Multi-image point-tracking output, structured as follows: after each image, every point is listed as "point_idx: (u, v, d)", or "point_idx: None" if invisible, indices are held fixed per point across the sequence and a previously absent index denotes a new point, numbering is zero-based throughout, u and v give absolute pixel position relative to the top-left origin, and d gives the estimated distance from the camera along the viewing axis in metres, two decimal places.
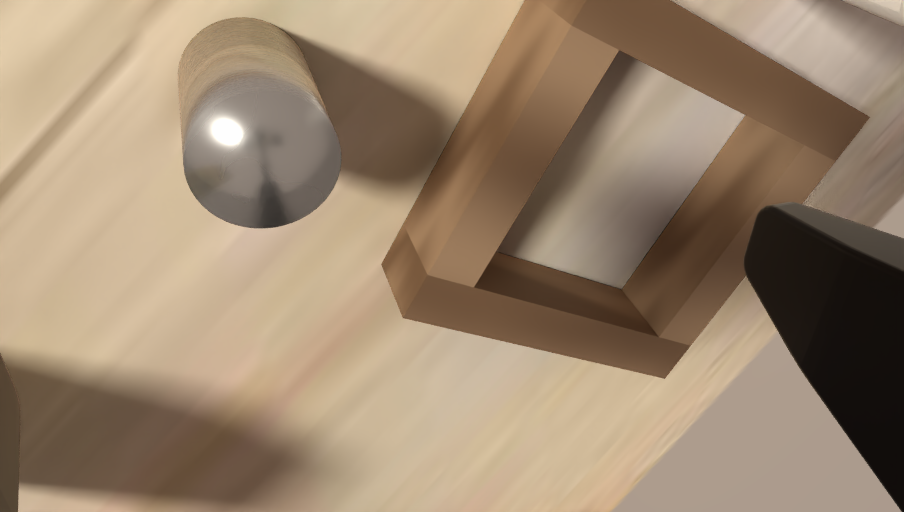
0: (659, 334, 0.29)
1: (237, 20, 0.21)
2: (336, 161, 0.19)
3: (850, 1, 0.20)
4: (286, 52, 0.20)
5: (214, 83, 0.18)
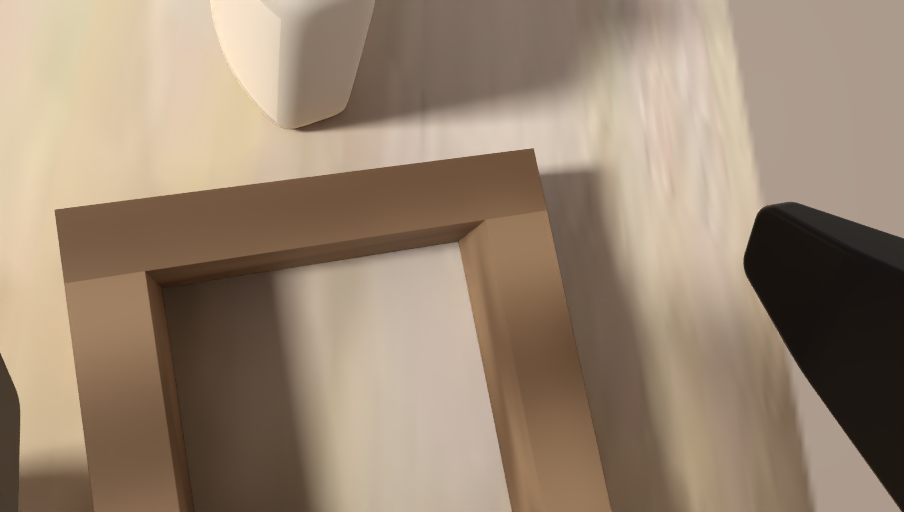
0: None
1: None
2: None
3: (291, 60, 0.18)
4: None
5: None
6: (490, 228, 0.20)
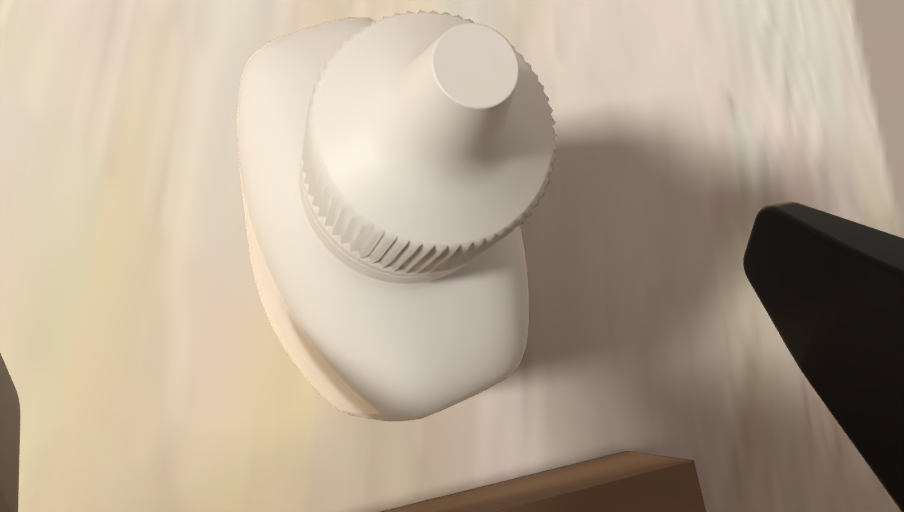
0: None
1: None
2: None
3: (382, 419, 0.12)
4: None
5: None
6: None
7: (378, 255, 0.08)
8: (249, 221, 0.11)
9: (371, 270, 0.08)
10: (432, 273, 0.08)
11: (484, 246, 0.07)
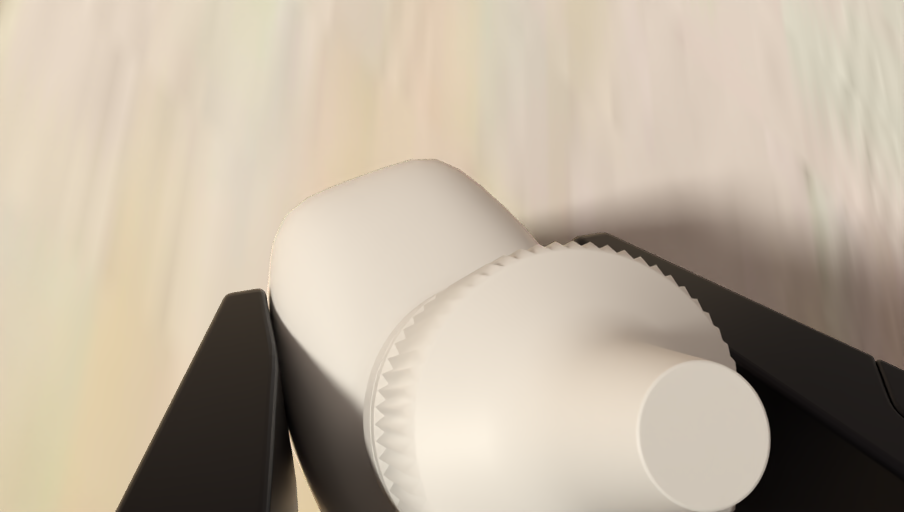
0: None
1: None
2: None
3: None
4: None
5: None
6: None
7: None
8: None
9: None
10: None
11: None
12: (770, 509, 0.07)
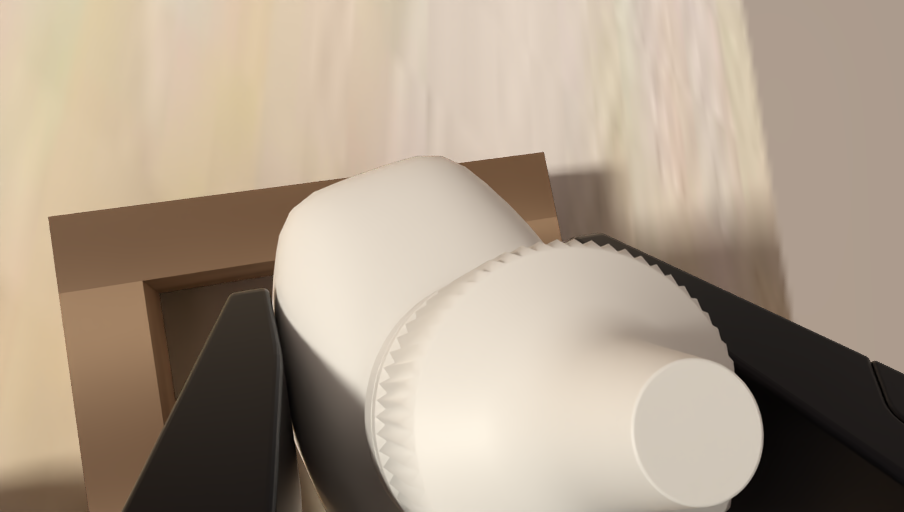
0: None
1: None
2: None
3: None
4: None
5: None
6: None
7: None
8: None
9: None
10: None
11: None
12: (765, 511, 0.07)
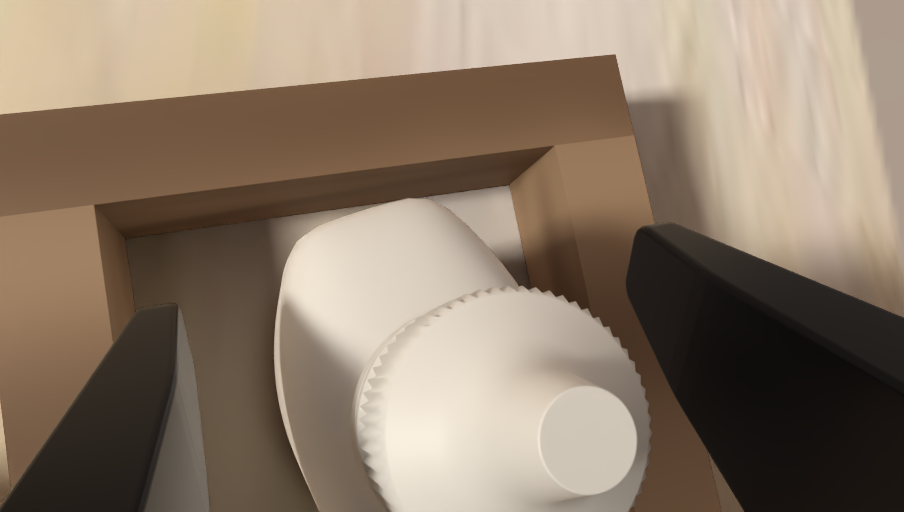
0: None
1: None
2: None
3: None
4: None
5: None
6: (561, 156, 0.15)
7: None
8: (285, 409, 0.10)
9: None
10: None
11: None
12: (852, 486, 0.07)
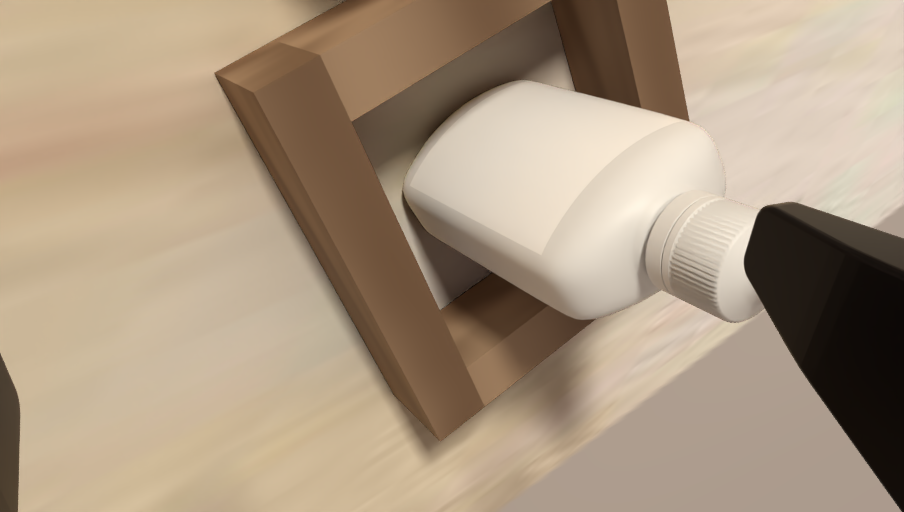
0: (467, 365, 0.23)
1: None
2: None
3: (494, 243, 0.19)
4: None
5: None
6: None
7: (686, 256, 0.16)
8: (610, 143, 0.18)
9: (660, 246, 0.17)
10: (667, 277, 0.17)
11: (708, 305, 0.16)
12: None
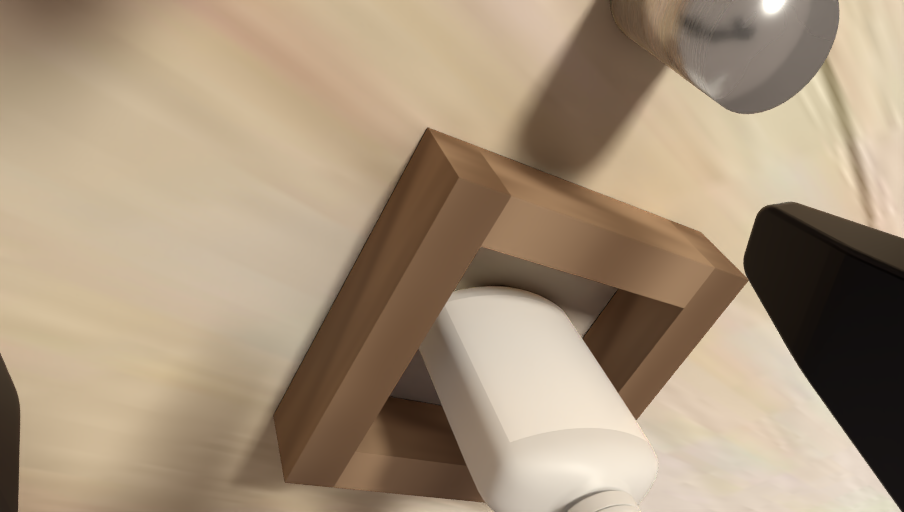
0: (357, 450, 0.25)
1: None
2: (747, 109, 0.19)
3: (479, 402, 0.23)
4: None
5: None
6: None
7: None
8: (603, 416, 0.23)
9: (588, 511, 0.20)
10: None
11: None
12: None
